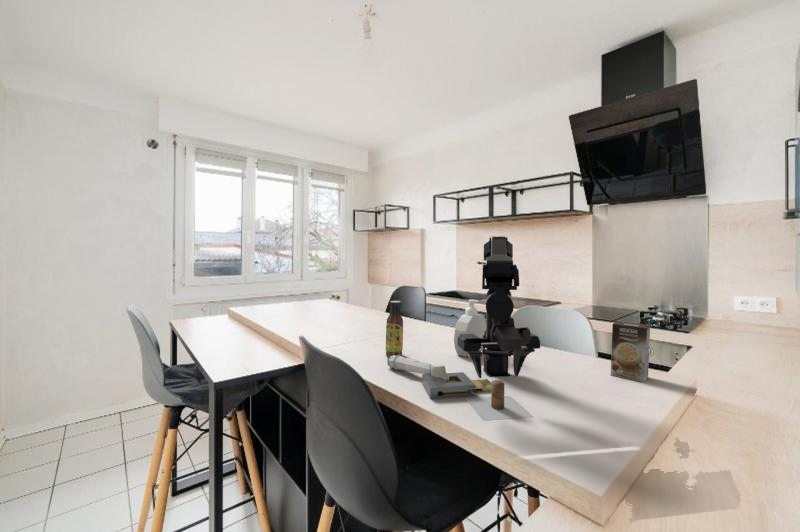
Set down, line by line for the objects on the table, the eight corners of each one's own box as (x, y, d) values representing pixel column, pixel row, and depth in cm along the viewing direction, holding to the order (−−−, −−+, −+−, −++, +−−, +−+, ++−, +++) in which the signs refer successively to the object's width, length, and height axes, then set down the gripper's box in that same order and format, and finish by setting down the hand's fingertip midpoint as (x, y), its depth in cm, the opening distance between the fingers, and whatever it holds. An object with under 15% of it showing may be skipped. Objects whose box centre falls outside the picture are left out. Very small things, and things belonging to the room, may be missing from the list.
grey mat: (510, 397, 93) (510, 395, 93) (533, 419, 81) (533, 416, 81) (465, 400, 91) (465, 398, 91) (483, 422, 79) (483, 420, 79)
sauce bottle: (383, 356, 129) (382, 301, 128) (389, 352, 135) (389, 299, 134) (399, 358, 127) (399, 302, 126) (405, 353, 133) (405, 300, 132)
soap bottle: (466, 359, 126) (466, 303, 126) (453, 356, 130) (453, 301, 129) (488, 350, 138) (489, 298, 137) (476, 347, 142) (476, 297, 141)
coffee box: (609, 375, 110) (610, 323, 109) (614, 370, 114) (615, 320, 114) (645, 382, 104) (646, 327, 103) (649, 377, 108) (650, 324, 108)
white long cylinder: (397, 353, 119) (452, 361, 100) (399, 373, 119) (454, 385, 99) (384, 356, 116) (438, 364, 96) (386, 377, 116) (440, 389, 96)
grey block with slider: (483, 382, 103) (483, 371, 103) (497, 396, 94) (497, 383, 93) (422, 386, 101) (422, 374, 101) (430, 400, 91) (430, 387, 91)
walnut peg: (501, 404, 88) (501, 380, 88) (506, 409, 85) (506, 384, 85) (489, 404, 88) (489, 380, 87) (494, 410, 85) (494, 385, 84)
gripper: (472, 319, 76) (472, 392, 77) (554, 317, 79) (553, 387, 79) (456, 311, 87) (456, 374, 88) (529, 309, 90) (528, 370, 90)
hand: (498, 376), depth 86 cm, fingers open, 9 cm apart
